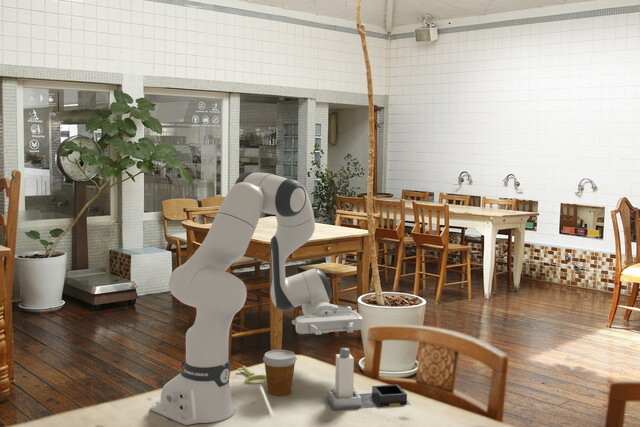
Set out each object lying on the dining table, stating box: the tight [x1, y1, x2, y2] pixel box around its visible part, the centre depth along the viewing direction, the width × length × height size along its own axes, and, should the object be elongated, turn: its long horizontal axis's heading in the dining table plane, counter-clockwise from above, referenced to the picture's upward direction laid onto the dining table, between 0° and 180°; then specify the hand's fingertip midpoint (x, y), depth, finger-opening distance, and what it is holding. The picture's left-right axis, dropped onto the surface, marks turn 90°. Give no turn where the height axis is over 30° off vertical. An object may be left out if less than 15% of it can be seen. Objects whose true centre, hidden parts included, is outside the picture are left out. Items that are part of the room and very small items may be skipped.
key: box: [237, 365, 267, 385], centre depth 210 cm, size 7×12×2 cm, turn 49°
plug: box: [334, 347, 355, 398], centre depth 189 cm, size 4×4×15 cm
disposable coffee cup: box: [262, 349, 298, 397], centre depth 196 cm, size 10×10×12 cm
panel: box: [323, 383, 411, 412], centre depth 191 cm, size 22×10×4 cm, turn 103°
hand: (334, 330), depth 200 cm, fingers open, 8 cm apart
